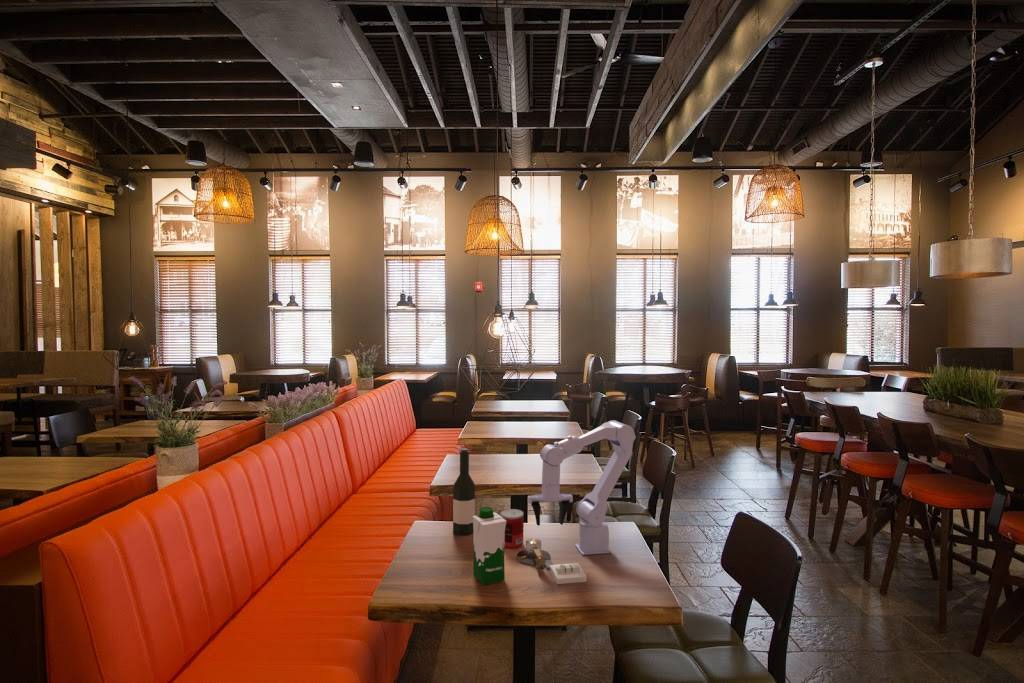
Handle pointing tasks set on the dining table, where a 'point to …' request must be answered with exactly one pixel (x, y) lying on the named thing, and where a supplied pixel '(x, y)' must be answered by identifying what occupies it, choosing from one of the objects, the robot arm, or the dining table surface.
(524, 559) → the dial base
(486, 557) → the milk carton
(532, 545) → the round-headed metal tool
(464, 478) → the wine bottle
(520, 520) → the canned food
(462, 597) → the dining table surface
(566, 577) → the stand board
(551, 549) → the dining table surface
